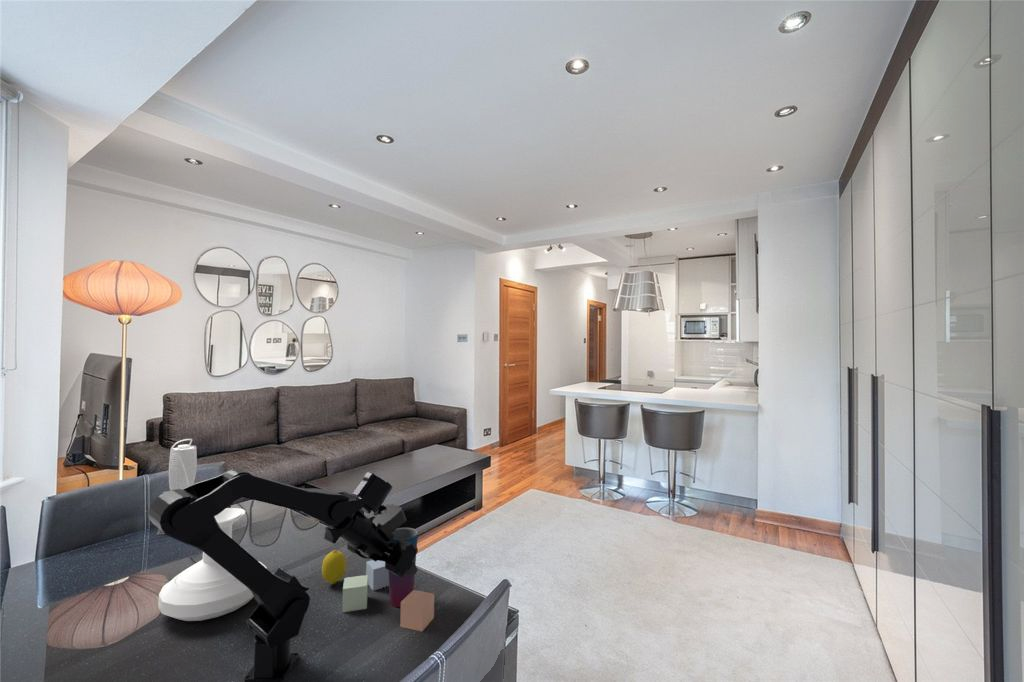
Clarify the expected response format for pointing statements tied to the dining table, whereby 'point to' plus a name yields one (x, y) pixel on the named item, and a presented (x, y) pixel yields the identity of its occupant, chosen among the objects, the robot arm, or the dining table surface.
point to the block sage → (355, 593)
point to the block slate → (377, 574)
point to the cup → (404, 584)
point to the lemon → (334, 566)
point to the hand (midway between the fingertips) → (403, 565)
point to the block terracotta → (417, 610)
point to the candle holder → (205, 585)
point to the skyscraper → (182, 467)
